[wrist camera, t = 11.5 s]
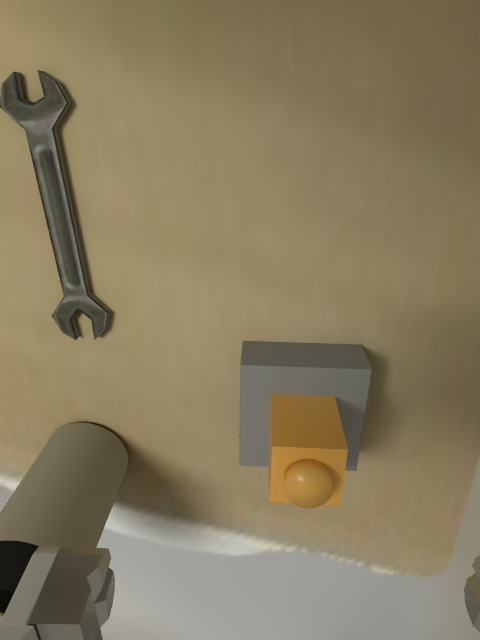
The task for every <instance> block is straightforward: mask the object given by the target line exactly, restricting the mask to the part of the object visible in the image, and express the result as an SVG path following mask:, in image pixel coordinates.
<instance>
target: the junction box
mask: <svg viewBox="0 0 480 640" xmlns="http://www.w3.org/2000/svg"><path fill="white" fill-rule="evenodd" d="M371 373H372V368H371V366H370V364H369V361H368V359H367V357H366V354H365V352H364V350H363V347H362V345H345V344H314V343H284V342H253V341H243V345H242V355H241V365H240V452H239V465H241V466H263V467H269V425H270V403H271V394H297V395H323V396H335V399H336V403H337V407H338V411H339V415H340V419H341V423H342V427H343V431H344V435H345V439H346V443H347V447H348V454H347V461H346V468H345V470H352V471H356V470H357V463H358V457H359V450H360V444H361V437H362V431H363V424H364V418H365V411H366V405H367V399H368V392H369V386H370V379H371Z"/></svg>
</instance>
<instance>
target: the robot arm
mask: <svg viewBox="0 0 480 640" xmlns="http://www.w3.org/2000/svg"><path fill="white" fill-rule="evenodd" d="M110 560H111V557H110V552H109V549H106V548H78V547H53V546H39V547H38V549H37V550H36V551H35V552H34V553H33V555H32V557H31V559H30V561H29V563H28V565H27V568H26V570H25V572H24V574H23V576H22V578H21V580H20V582H19V584H18V587H17V589H16V591H15V593H14V595H13V597H12V599H11V601H10V603H9V605H8V608H7V610H6V612H5V614H4V616H3V618H2V620H1V622H0V640H103V639H102V635H101V630H100V627H101V626H102V625H103V624H104V623H105V622H106V621H107V620H108V619H109V616H110V611H111V608H112V603H113V597H114V590H115V578H114V573H113V571H112V570H111V569H110V568H109V563H110ZM472 566H473V568H474V570H475V572H476V573H475V574H473V575H472V576H471V577H469V578H468V579H467V582H466V585H465V588H464V592H465V603H466V607H467V611H468V614H469V617H470V619H471V621H472V624H473V626H474V627H475V628H476V629H477V630H478V631H479V632H480V556H478V557H477V558H475V560H474V563H473V565H472Z"/></svg>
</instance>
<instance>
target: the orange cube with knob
mask: <svg viewBox="0 0 480 640" xmlns="http://www.w3.org/2000/svg"><path fill="white" fill-rule="evenodd" d="M347 454H348V447H347V443H346V439H345V435H344V431H343V427H342V423H341V419H340V415H339V411H338V407H337V403H336V399H335V396H323V395H297V394H271V403H270V425H269V502H278V503H292V504H294V505H296V506H299V507H303V508H314V507H318V506H321V505H340V503H341V496H342V489H343V482H344V475H345V468H346V461H347Z"/></svg>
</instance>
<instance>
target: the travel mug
mask: <svg viewBox="0 0 480 640" xmlns="http://www.w3.org/2000/svg"><path fill="white" fill-rule="evenodd" d="M128 463H129V458H128V453H127V450H126V448H125V446H124V444H123V443H122V442H121V441H120V439H119V438H118V437H117V436H116V435H114V434H113V433H112V432H110V431H109V430H107V429H105V428H103V427H100V426H98V425H94V424H90V423H72V424H68V425H65V426H63V427H61V428H59V429H58V430H57V431H55V432H54V434H53V435H52V436H51V438H50V439H49V441H48V442H47V444H46V445H45V447H44V448H43V450H42V451H41V453H40V454H39V456H38V457H37V459H36V460H35V462H34V463H33V465H32V466H31V468H30V469H29V471H28V472H27V474H26V475H25V477H24V478H23V479H22V481H21V482H20V484H19V485H18V487H17V488H16V490H15V491H14V493H13V494H12V496H11V497H10V499H9V500H8V502H7V503H6V505H5V506H4V508H3V509H2V511H1V512H0V622H1V620H2V618H3V616H4V614H5V612H6V610H7V608H8V605H9V603H10V601H11V599H12V597H13V595H14V593H15V591H16V589H17V587H18V584H19V582H20V580H21V578H22V576H23V574H24V572H25V570H26V568H27V565H28V563H29V561H30V559H31V557H32V555H33V553H34V552H35V551H36V550H37V549H38V547H39V546H53V547H78V548H96V546H97V544H98V541H99V539H100V536H101V534H102V531H103V529H104V526H105V524H106V521H107V519H108V516H109V513H110V511H111V508H112V506H113V503H114V501H115V498H116V496H117V493H118V491H119V488H120V486H121V483H122V480H123V478H124V475H125V473H126V470H127V468H128Z"/></svg>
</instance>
